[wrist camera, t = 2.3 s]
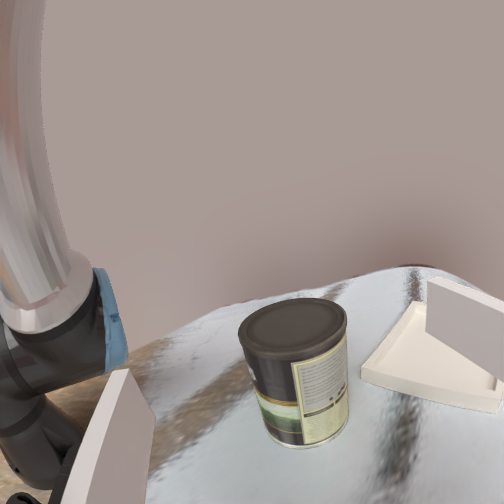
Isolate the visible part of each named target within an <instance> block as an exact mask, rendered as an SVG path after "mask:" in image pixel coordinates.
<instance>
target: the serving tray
mask: <svg viewBox="0 0 504 504" xmlns="http://www.w3.org/2000/svg"><path fill="white" fill-rule="evenodd" d="M426 310H427V303H424V302H417V301H412V303H411V304H410V306H409V307H408V308H407V310H406V311H405V313H404V314H403V315H402V317H401V318H400V319H399V321H398V322H397V323H396V325H395V326H394V327H393V329H392V330H391V331H390V333H389V334H388V335H387V336H386V338H385V339H384V340H383V341H382V343H381V344H380V345H379V346H378V348H377V349H376V350H375V351H374V352H373V354H372V355H371V356H370V357H369V358H368V359H367V361H366V362H365V363H364V364H363V365H362V366H361V381H364V382H367V383H370V384H374V385H377V386H380V387H383V388H387V389H390V390H393V391H397V392H400V393H404V394H407V395H411V396H415V397H418V398H422V399H426V400H430V401H434V402H438V403H442V404H447V405H451V406H456V407H460V408H465V409H470V410H475V411H481V412H486V413H492V414H495V413H496V411H497V409H498V407H499V405H500V403H501V401H502V397H503V392H504V383H503V382H502V381H500V380H499V379H497V378H496V377H494V376H493V375H491V374H490V373H488V372H487V371H485V370H484V369H482V368H481V367H479V366H478V365H476V364H475V363H473V362H472V361H470V360H468V359H467V358H465V357H464V356H462V355H461V354H459V353H458V352H456V351H455V350H453V349H452V348H450V347H448V346H447V345H445V344H444V343H442V342H441V341H439V340H438V339H436V338H434V337H433V336H431V335H430V334H428V333H427V332H425V326H426Z"/></svg>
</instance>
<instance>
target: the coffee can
mask: <svg viewBox="0 0 504 504" xmlns="http://www.w3.org/2000/svg"><path fill="white" fill-rule="evenodd" d="M346 326H347V316H346V312H345V311H344V309H343V308H342V307H341V306H340V305H338V304H336V303H334V302H332V301H329V300H325V299H319V298H297V299H290V300H285V301H280V302H277V303H273V304H271V305H268V306H265V307H263V308H261V309H259V310H257V311H255V312H254V313H252V314H251V315H249V316H248V317H247V318H246V319H245V320H244V321H243V322H242V323H241V325H240V327H239V330H238V337H239V341H240V343H241V345H242V347H243V351H244V355H245V358H246V362H247V365H248V369H249V372H250V376H251V379H252V382H253V386H254V389H255V393H256V396H257V399H258V403H259V406H260V410H261V413H262V416H263V420H264V423H265V429H266V431H267V433H268V435H269V436H270V437H271V438H272V439H273V440H274V441H275V442H277V443H279V444H280V445H283V446H286V447H289V448H295V449H308V448H313V447H317V446H320V445H323V444H325V443H327V442H329V441H331V440H332V439H334V438H335V437H336V436H338V435H339V434H340V432H341V431H342V430H343V429H344V427H345V425H346V423H347V420H348V367H347V339H346Z"/></svg>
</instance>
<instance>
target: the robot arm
mask: <svg viewBox="0 0 504 504" xmlns="http://www.w3.org/2000/svg"><path fill="white" fill-rule="evenodd" d="M45 6H46V0H0V290H1V292H0V449H1V451H2V453H3V455H4V457H5V459H6V461H7V462H8V464H9V466H10V467H11V469H12V470H13V472H14V473H15V474H16V475H17V476H18V477H19V478H20V479H21V480H22V481H23V482H24V483H26V484H27V485H29V486H30V487H33V488H36V489H41V490H48V489H53V490H52V493H51V496H50V499H49V502H48V504H145V497H146V487H147V478H148V470H149V462H150V454H151V447H152V440H153V433H154V427H155V420H156V417H155V415H154V413H153V412H152V410H151V408H150V407H149V405H148V403H147V401H146V399H145V398H144V396H143V394H142V392H141V390H140V388H139V387H138V385H137V383H136V381H135V379H134V377H133V375H132V373H131V371H130V369H129V368H128V369H122V370H114V371H112V373H111V376H110V378H109V380H108V382H107V384H106V386H105V389H104V391H103V393H102V395H101V398H100V400H99V402H98V404H97V407H96V409H95V411H94V414H93V416H92V418H91V421H90V423H89V426H88V428H87V431H86V433H84V432H83V431H82V429H81V428H80V427H79V425H78V424H77V423H76V422H75V421H74V420H73V419H72V418H71V417H70V416H69V415H67V414H66V413H65V412H64V411H62V410H61V409H60V408H59V407H57V406H56V405H55V404H54V403H53V402H52V401H50V400H49V399H48V398H47V397H46V395H45V393H48V392H51V391H54V390H57V389H60V388H63V387H66V386H70V385H73V384H76V383H79V382H82V381H85V380H88V379H91V378H94V377H97V376H100V375H101V376H102V375H105V374H106V373H108V371H110V370H113V369H115V368H117V367H119V366H121V365H123V364H124V363H125V362H126V360H127V358H128V346H127V341H126V337H125V333H124V329H123V326H122V322H121V319H120V317H119V313H118V309H117V304H116V300H115V297H114V293H113V290H112V286H111V283H110V280H109V278H108V275H107V273H106V271H105V270H104V269H103V268H92V267H91V265H90V263H89V261H88V259H87V258H86V257H85V256H84V255H83V254H81V253H80V252H78V251H75V250H72V249H70V246H69V244H68V241H67V237H66V234H65V231H64V227H63V224H62V220H61V217H60V213H59V209H58V205H57V202H56V197H55V193H54V188H53V184H52V179H51V174H50V169H49V163H48V157H47V151H46V144H45V137H44V128H43V119H42V106H41V85H40V63H41V62H40V61H41V40H42V30H43V20H44V13H45ZM425 332H427V333H428V334H430V335H431V336H433V337H434V338H436V339H438V340H439V341H441V342H442V343H444V344H445V345H447V346H448V347H450V348H452V349H453V350H455V351H456V352H458V353H459V354H461V355H462V356H464V357H465V358H467V359H468V360H470V361H472V362H473V363H475V364H476V365H478V366H479V367H481V368H482V369H484V370H485V371H487V372H488V373H490V374H491V375H493V376H494V377H496V378H497V379H499V380H500V381H502V382H503V383H504V302H503V301H501V300H499V299H496V298H494V297H491V296H489V295H486V294H484V293H481V292H479V291H476V290H474V289H471V288H469V287H466V286H463V285H461V284H458V283H456V282H453V281H450V280H448V279H445V278H442V277H440V276H436V277H434V278H432V279H430V280H427V310H426V326H425ZM6 504H41V503H40V502H38V501H37V500H36V499H35V498H34V497H32V496H31V495H30V494H28V493H24V492H19V493H15V494H14V495H12V496H11V497H10V498H9V499H8V501H7V502H6Z"/></svg>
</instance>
